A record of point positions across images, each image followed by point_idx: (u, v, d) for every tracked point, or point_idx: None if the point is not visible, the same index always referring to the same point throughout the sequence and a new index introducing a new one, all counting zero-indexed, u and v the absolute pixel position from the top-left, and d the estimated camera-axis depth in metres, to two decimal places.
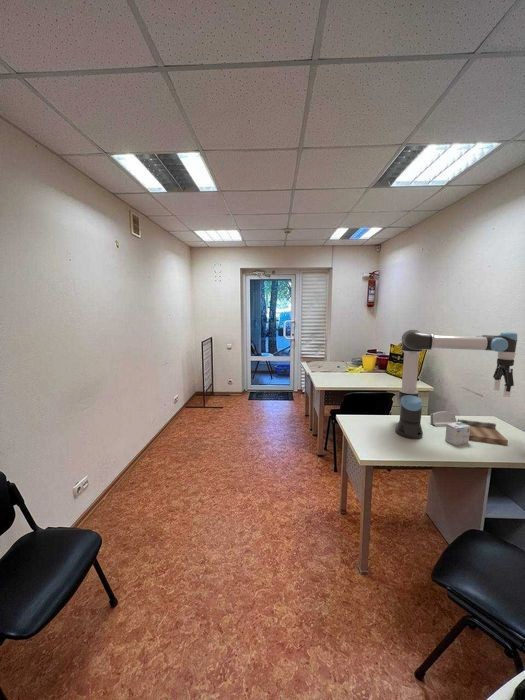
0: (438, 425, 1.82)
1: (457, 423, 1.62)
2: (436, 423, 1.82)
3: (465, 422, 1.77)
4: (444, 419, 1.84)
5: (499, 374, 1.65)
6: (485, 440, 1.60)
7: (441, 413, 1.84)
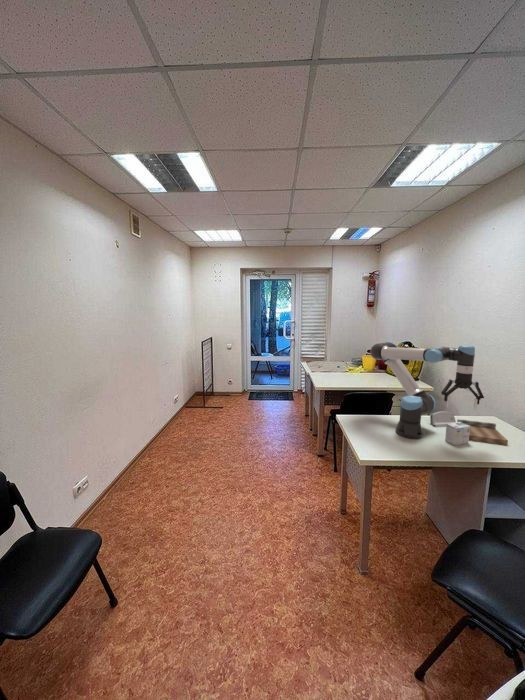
0: (438, 425, 1.81)
1: (457, 423, 1.62)
2: (436, 423, 1.82)
3: (465, 422, 1.77)
4: (444, 419, 1.84)
5: (470, 390, 1.56)
6: (485, 440, 1.60)
7: (441, 413, 1.84)
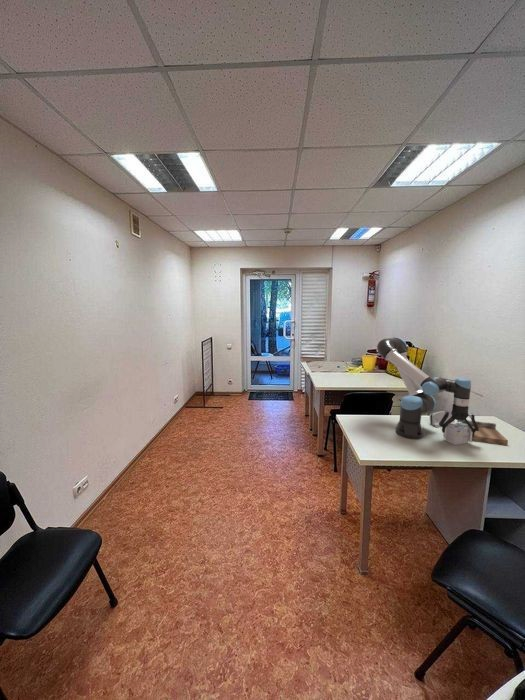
0: (438, 425, 1.81)
1: (457, 423, 1.61)
2: (436, 423, 1.82)
3: (465, 422, 1.77)
4: None
5: (466, 422, 1.58)
6: (485, 440, 1.60)
7: (440, 413, 1.84)
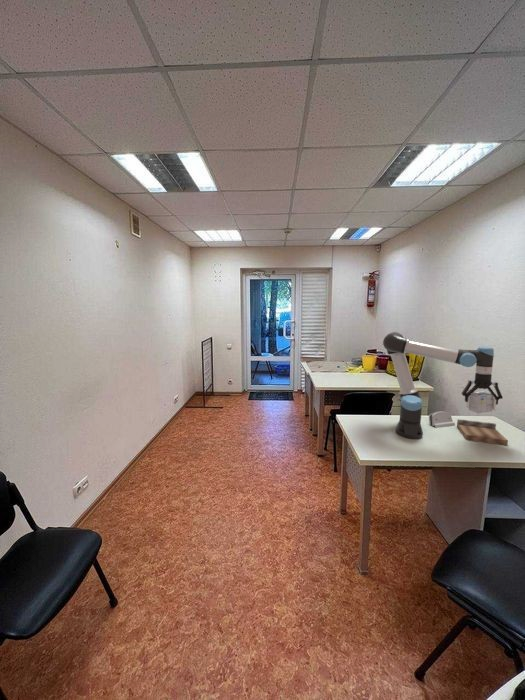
0: (438, 425, 1.81)
1: (480, 392, 1.63)
2: (436, 424, 1.81)
3: (465, 422, 1.77)
4: (442, 419, 1.84)
5: None
6: (485, 440, 1.60)
7: (439, 413, 1.84)
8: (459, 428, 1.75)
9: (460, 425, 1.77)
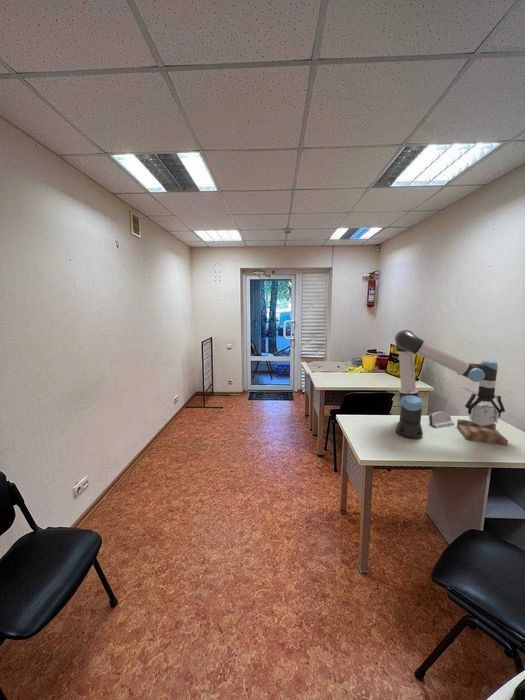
0: (438, 426, 1.80)
1: (483, 405, 1.66)
2: (436, 424, 1.81)
3: (465, 422, 1.77)
4: (442, 419, 1.83)
5: (492, 404, 1.64)
6: (485, 440, 1.60)
7: (439, 413, 1.84)
8: (459, 428, 1.75)
9: (460, 425, 1.77)
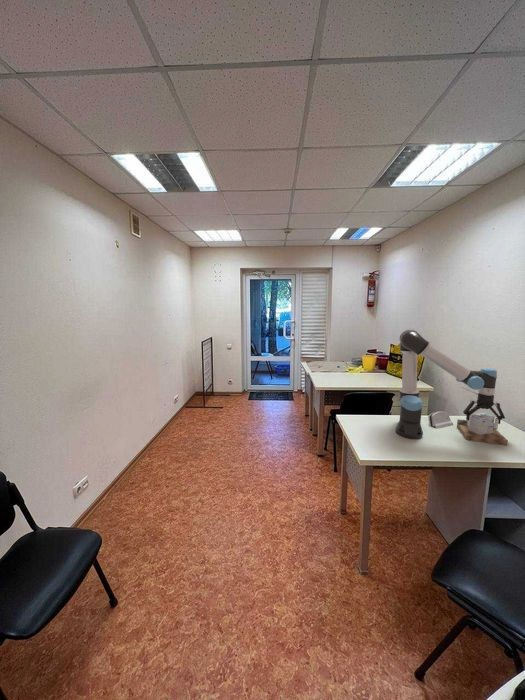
0: (438, 426, 1.80)
1: (481, 414, 1.67)
2: (436, 424, 1.80)
3: (465, 422, 1.77)
4: (441, 419, 1.83)
5: None
6: (485, 440, 1.60)
7: (438, 414, 1.84)
8: (459, 428, 1.75)
9: (460, 425, 1.77)
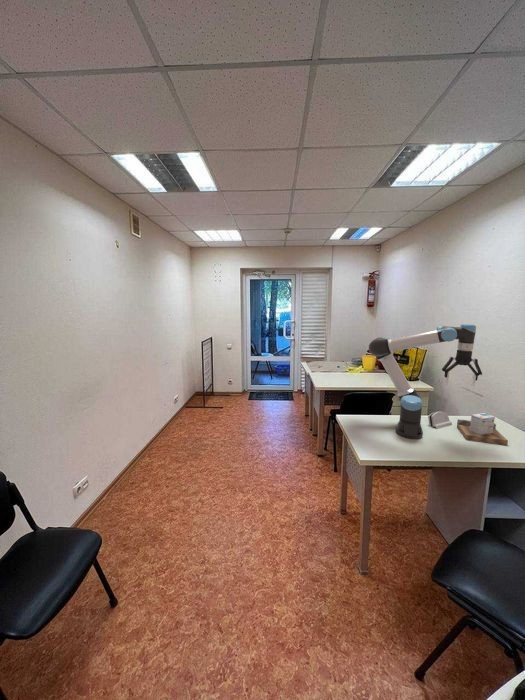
0: (438, 426, 1.80)
1: (481, 414, 1.67)
2: (436, 425, 1.80)
3: (465, 422, 1.77)
4: (441, 419, 1.83)
5: (469, 367, 1.63)
6: (485, 440, 1.60)
7: (438, 414, 1.83)
8: (459, 428, 1.75)
9: (460, 425, 1.77)
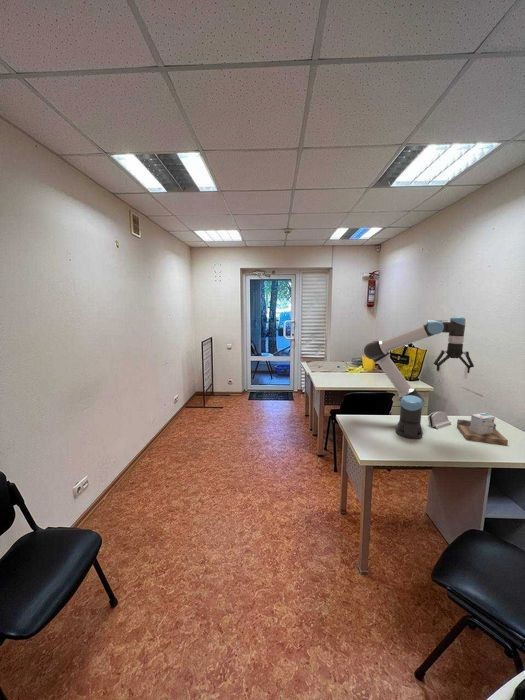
0: (438, 426, 1.79)
1: (481, 414, 1.67)
2: (436, 425, 1.79)
3: (465, 422, 1.77)
4: (440, 419, 1.83)
5: (461, 360, 1.64)
6: (485, 440, 1.60)
7: (437, 414, 1.83)
8: (459, 428, 1.75)
9: (460, 425, 1.77)
